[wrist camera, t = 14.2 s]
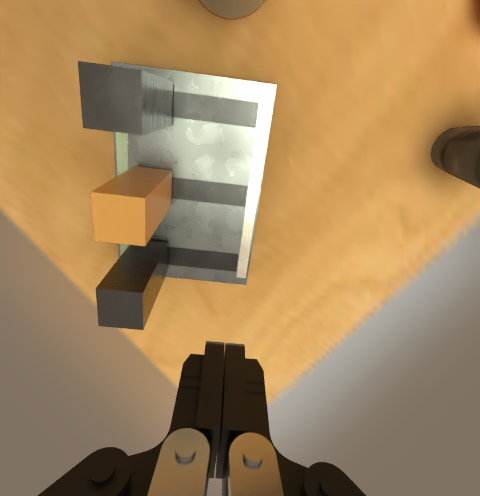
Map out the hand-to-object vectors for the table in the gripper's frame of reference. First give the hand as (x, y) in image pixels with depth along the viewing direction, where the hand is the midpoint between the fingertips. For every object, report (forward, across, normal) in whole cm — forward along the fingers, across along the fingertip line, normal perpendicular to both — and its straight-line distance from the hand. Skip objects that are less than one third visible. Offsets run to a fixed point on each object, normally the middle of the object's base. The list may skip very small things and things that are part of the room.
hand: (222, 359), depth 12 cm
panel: (+27, +5, 0) cm, 27 cm away
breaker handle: (+25, +9, 0) cm, 26 cm away
